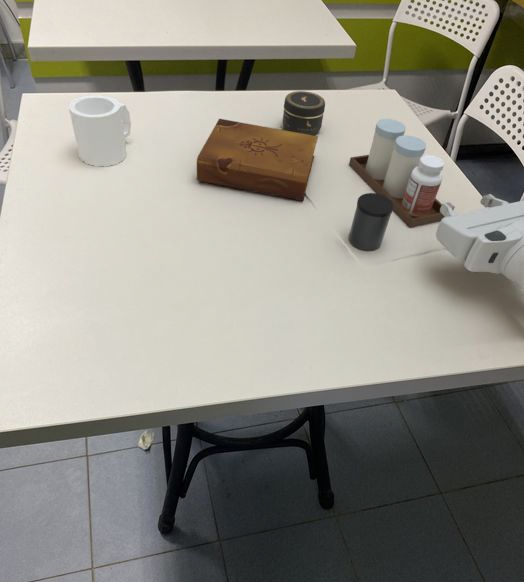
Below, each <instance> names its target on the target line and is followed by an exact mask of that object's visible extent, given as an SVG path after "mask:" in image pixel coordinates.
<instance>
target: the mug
mask: <svg viewBox="0 0 524 582" xmlns="http://www.w3.org/2000/svg"><path fill="white" fill-rule="evenodd" d="M68 111H69V115H70V120H71V125H72V129H73V134H74V138H75V142H76V147H77V152H78V155H79V159H80V158H81V159H80V160H81V162H83V161H84V162H85V163H84V162H83V163H84V164H86V163H88V164H90V165H89V166H92V165H94V166H93V167H99V166H104V167H111V165H112V166H115V165H118V164H120V163H122V162H123V161H125V160H126V158H127V156H126V155H128V154H127V148H126V147H127V146H126V139H125V138H127V137H129V136H130V135H131V128H132V127H131V126H132V121H131V116H130V112H129V109H128V108H127V106H126V104H124V103H121V102H119V101H118V100H117V99H115V98H113V97H111V96H107V95H100V94H89V95H82V96H80V97H76V98H74V99H73V100H71V101H70V103H69V104H68ZM125 157H126V158H125ZM121 161H122V162H121ZM119 162H120V163H119ZM88 164H87V165H88Z"/></svg>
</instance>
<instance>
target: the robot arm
mask: <svg viewBox="0 0 524 582" xmlns="http://www.w3.org/2000/svg"><path fill="white" fill-rule="evenodd" d="M479 203H480V204H481V205H482V206H483V207H484V208H482V209H478V210H473V211H469V212H463V213H459V214H458V213H457V212H454V210H455V208H456V206H454V204H452V203H451V202H445V203H441V204H442V206H441V208H440V212H441V213H442V214H443V215H444V216H445V218H442V220H441V221H440V222H439V224H438V226H437V229H436V232H435V237H436V240H437V241H438V242H439V243H440V244H441V245H442V246H443V248H445V249H446V250H447V251H448V252H449V253H450V254H451V255H452V256H453V257H454V258H456V259H458V260H461V261H464V264H463V267H464V268H465V269H466V270H467V271H469V272H472V273H493V274H497V275H503V276H504V277H505V278H506V279H508V280H509V281H511V282H514V283H515V284H516V285H517V286H518V287H519V289H520V291H521V293H522V294H523V295H524V200H518V201H514V202H508V201H506V200H504V199H500V198H498V197H497V198H496V197H495V196H494V195H493V194H491V193H489V194H484V195H482V197H481V199H480V202H479Z"/></svg>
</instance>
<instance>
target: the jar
mask: <svg viewBox="0 0 524 582" xmlns="http://www.w3.org/2000/svg"><path fill="white" fill-rule="evenodd" d="M325 108H326V100H325V98H323V97H322V95H321V96H320V95H319V94H317V93H314V92H310V91H305V90H297V91H292V92H290V93H288V94H287V95H286V96H285V97H284V104H283V114H282V127H283V130H285V131H291V132H296V133H302V134H307V135H313V136H317V135H318V134H319V132H320V131H321V129H322V126H323V120H324V114H325V110H326V109H325Z"/></svg>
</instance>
